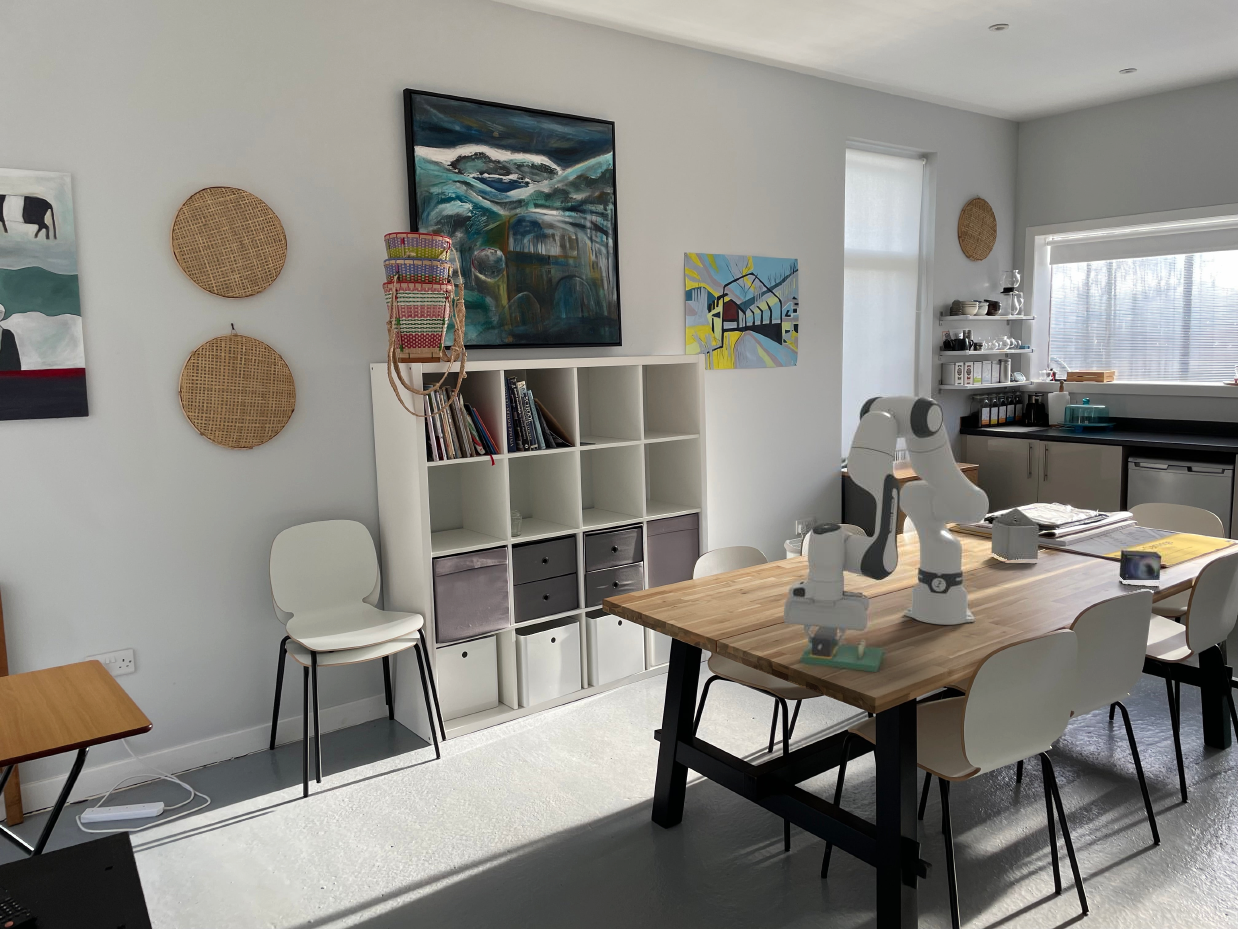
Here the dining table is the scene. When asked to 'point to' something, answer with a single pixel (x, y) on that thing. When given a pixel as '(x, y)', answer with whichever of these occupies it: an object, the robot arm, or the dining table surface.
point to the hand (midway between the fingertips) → (824, 643)
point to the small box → (1140, 565)
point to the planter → (1015, 536)
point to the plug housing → (824, 641)
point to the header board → (847, 657)
